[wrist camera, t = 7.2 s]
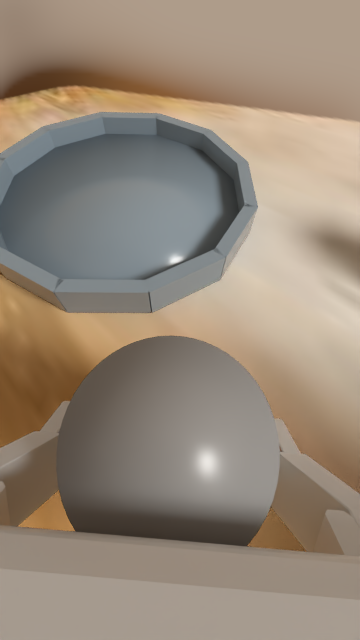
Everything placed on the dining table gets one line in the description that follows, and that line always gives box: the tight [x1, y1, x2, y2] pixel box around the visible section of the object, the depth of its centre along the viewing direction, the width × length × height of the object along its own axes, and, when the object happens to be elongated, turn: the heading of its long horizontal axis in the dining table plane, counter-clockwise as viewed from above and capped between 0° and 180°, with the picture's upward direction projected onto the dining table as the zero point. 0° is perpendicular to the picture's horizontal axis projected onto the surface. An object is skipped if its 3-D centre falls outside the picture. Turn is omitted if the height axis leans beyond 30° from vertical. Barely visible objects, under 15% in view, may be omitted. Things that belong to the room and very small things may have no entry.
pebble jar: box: [56, 336, 280, 546], centre depth 9 cm, size 5×5×8 cm
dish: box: [0, 112, 258, 313], centre depth 23 cm, size 22×22×2 cm
